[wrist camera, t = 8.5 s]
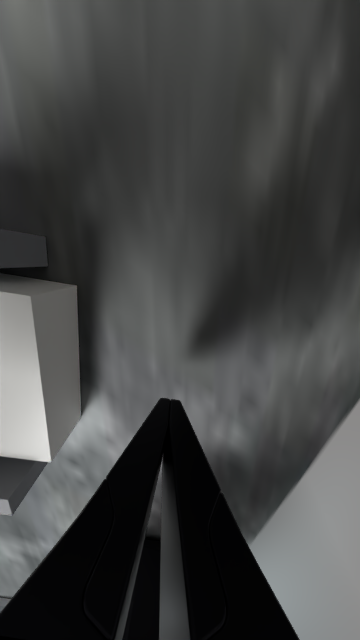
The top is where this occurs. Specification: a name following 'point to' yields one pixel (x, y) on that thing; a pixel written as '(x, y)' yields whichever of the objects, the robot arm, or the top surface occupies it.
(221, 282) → the top surface
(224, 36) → the top surface
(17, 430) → the white flat block
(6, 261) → the dock
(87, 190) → the top surface
